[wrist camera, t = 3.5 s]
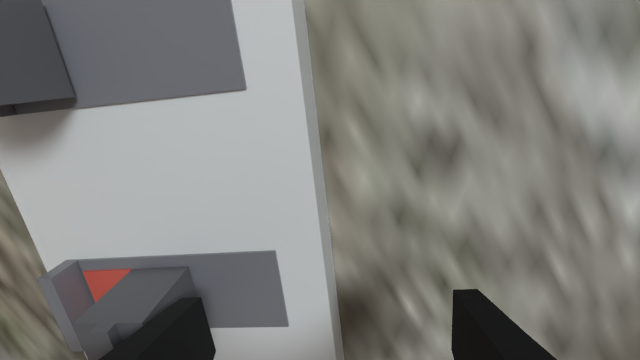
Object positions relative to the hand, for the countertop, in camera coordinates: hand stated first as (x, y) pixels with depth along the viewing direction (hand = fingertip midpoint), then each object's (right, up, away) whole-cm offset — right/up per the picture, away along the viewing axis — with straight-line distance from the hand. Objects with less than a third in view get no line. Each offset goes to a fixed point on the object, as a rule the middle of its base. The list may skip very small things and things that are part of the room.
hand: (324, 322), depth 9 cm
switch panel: (-5, +1, +4) cm, 6 cm away
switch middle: (-5, 0, +2) cm, 6 cm away
